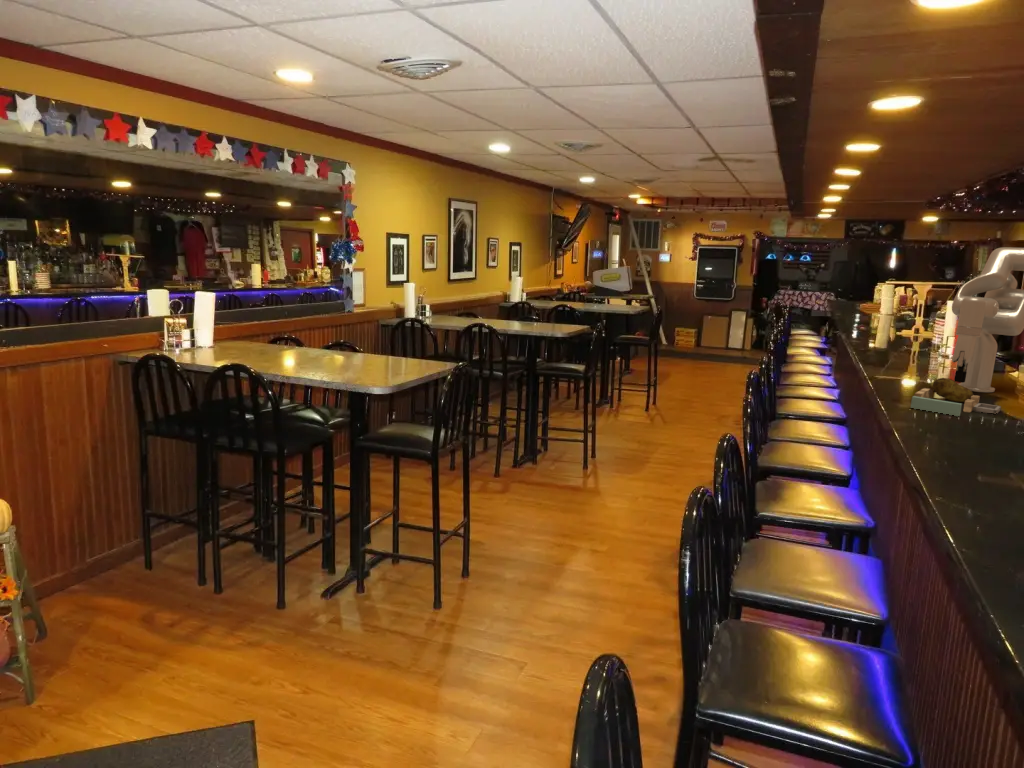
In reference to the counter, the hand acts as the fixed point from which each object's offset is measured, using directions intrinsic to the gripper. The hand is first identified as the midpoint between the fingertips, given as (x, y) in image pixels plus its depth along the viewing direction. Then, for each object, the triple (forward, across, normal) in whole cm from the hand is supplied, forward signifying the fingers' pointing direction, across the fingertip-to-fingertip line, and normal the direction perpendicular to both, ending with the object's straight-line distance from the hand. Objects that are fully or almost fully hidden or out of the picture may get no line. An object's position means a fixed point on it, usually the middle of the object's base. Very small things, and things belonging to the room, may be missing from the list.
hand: (959, 381), depth 253 cm
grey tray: (+6, +19, +12) cm, 23 cm away
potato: (+6, +10, 0) cm, 12 cm away
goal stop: (+7, +35, 0) cm, 36 cm away
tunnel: (+6, +19, 0) cm, 20 cm away
